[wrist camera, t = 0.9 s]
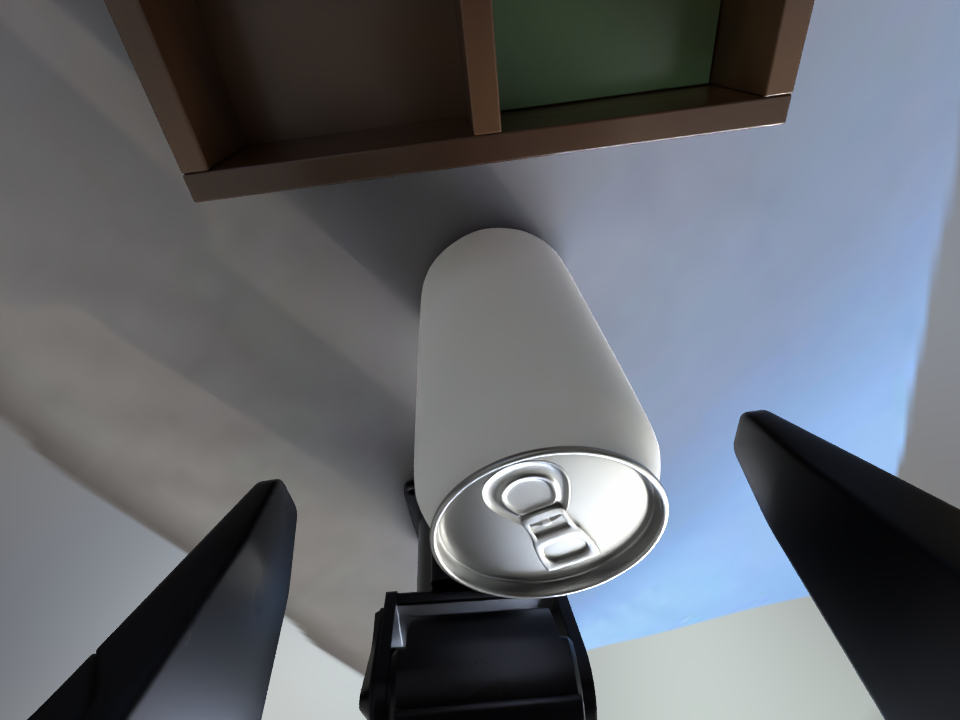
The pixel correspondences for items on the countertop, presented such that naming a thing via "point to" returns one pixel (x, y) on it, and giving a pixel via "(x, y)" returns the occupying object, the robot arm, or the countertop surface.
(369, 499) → the countertop surface
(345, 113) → the divided wooden tray
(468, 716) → the robot arm
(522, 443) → the can
